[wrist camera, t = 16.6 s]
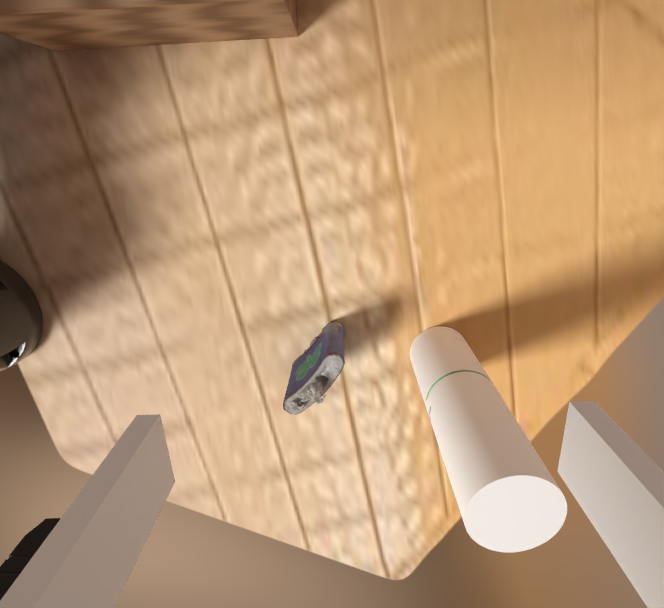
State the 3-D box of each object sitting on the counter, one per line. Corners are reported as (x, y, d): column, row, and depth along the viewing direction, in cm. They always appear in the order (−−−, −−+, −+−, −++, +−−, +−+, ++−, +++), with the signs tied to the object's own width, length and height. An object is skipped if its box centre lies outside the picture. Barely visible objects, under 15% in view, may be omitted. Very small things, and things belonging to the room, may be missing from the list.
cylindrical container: (410, 379, 55) (463, 555, 32) (408, 328, 53) (464, 478, 29) (466, 375, 55) (562, 549, 31) (467, 323, 52) (572, 471, 29)
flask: (332, 316, 52) (331, 358, 42) (351, 330, 53) (354, 374, 43) (286, 367, 55) (275, 418, 45) (305, 380, 55) (297, 433, 45)
